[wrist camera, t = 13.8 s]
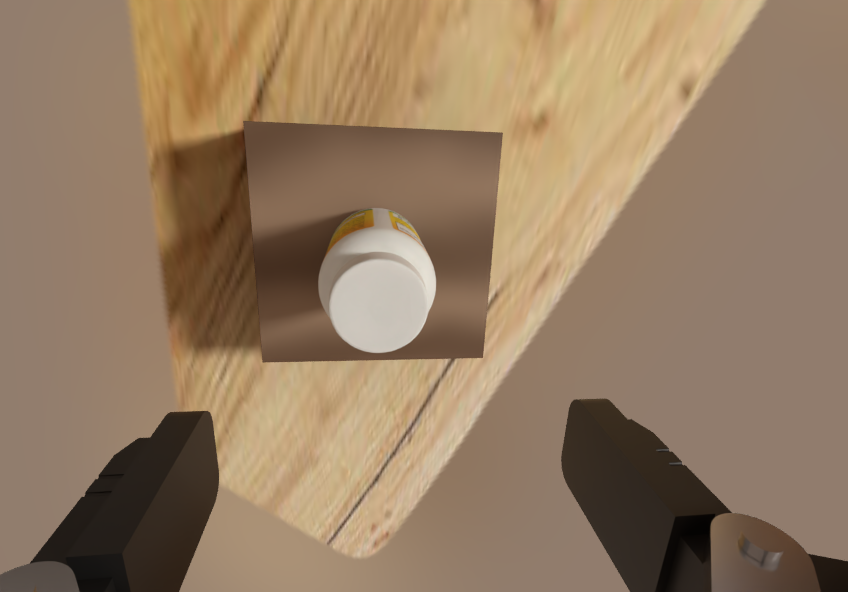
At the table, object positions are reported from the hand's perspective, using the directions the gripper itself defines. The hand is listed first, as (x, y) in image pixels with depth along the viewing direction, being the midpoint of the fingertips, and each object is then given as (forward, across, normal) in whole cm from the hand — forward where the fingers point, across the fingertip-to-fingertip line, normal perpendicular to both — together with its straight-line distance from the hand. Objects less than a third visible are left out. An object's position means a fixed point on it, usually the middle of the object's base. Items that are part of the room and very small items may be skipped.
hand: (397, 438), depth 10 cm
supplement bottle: (+18, 0, 0) cm, 18 cm away
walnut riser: (+24, 0, 0) cm, 24 cm away
